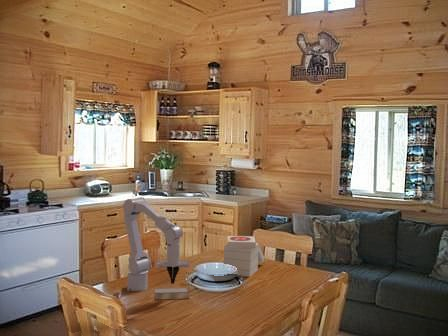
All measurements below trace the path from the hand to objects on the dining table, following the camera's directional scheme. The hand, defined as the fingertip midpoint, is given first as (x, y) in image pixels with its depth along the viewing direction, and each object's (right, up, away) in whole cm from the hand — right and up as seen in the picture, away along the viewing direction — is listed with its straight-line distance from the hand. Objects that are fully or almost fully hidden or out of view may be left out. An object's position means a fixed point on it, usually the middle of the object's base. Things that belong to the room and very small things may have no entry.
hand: (172, 283), depth 214 cm
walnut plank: (0, -7, +1) cm, 7 cm away
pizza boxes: (+34, -5, +53) cm, 63 cm away
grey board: (-2, -7, +8) cm, 11 cm away
